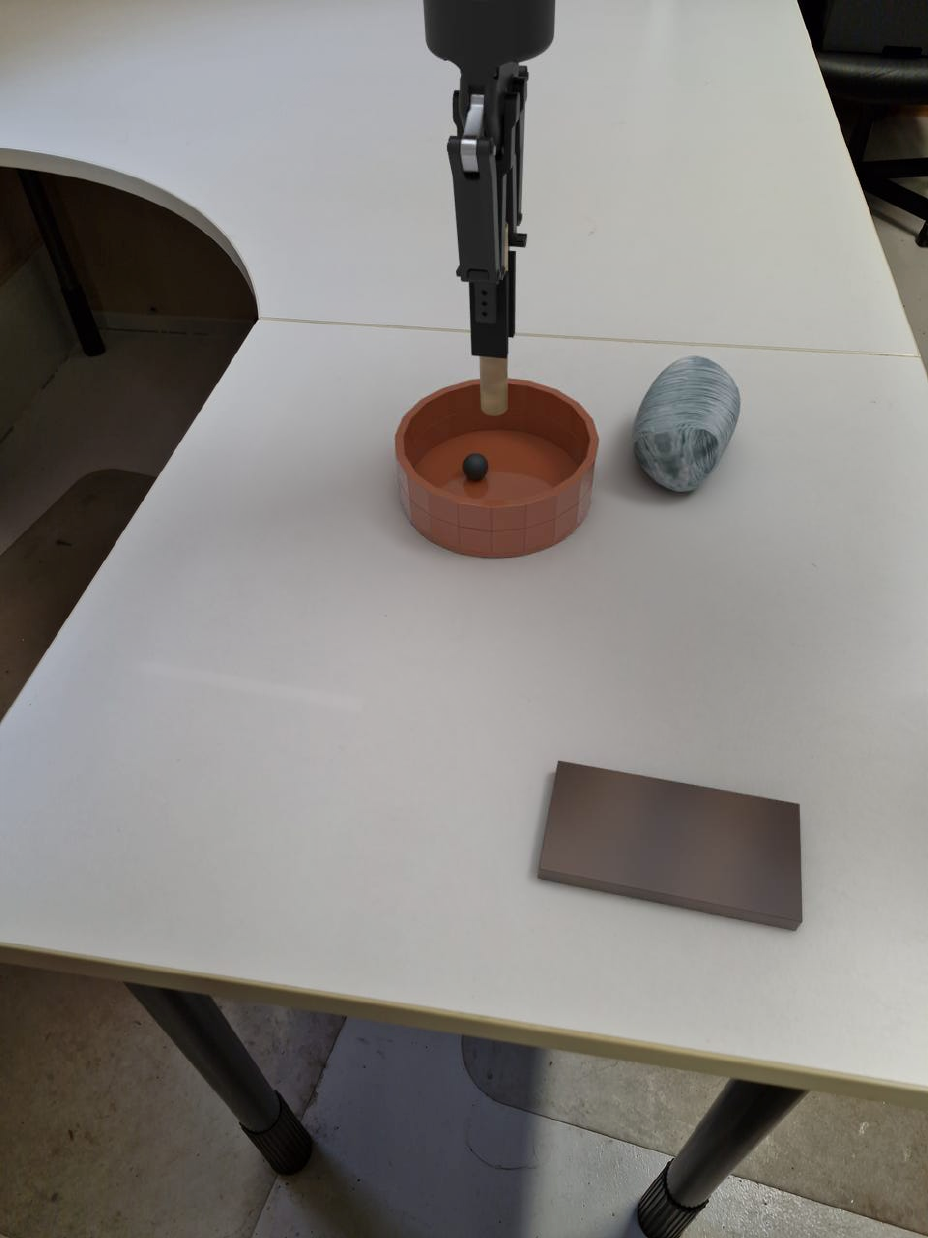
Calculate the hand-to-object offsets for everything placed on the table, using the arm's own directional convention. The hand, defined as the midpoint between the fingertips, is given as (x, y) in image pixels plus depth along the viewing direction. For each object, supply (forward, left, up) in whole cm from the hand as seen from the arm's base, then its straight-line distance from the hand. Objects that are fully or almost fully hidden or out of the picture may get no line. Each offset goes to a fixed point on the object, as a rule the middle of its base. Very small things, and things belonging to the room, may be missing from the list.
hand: (493, 343), depth 65 cm
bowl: (0, -2, -16) cm, 16 cm away
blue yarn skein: (-16, -10, -16) cm, 25 cm away
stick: (0, 0, -6) cm, 6 cm away
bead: (+2, -2, -14) cm, 15 cm away
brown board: (-18, +30, -16) cm, 39 cm away
